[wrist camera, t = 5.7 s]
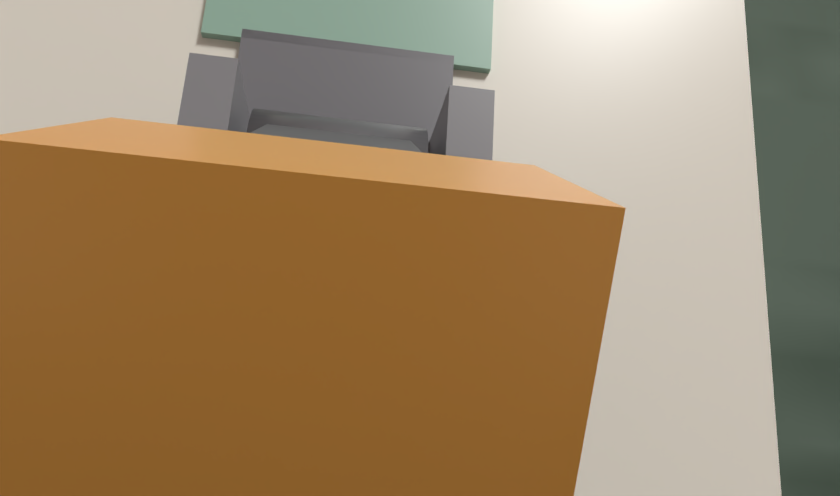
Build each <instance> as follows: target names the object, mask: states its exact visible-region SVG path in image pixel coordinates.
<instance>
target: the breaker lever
mask: <svg viewBox="0 0 840 496" xmlns="http://www.w3.org/2000/svg"><path fill="white" fill-rule="evenodd" d="M625 209H626V208H625V207H623V206H621V205H618V204H616V203H614V202H612V201H610V200H608V199H606V198H603V197H601V196H599V195H597V194H595V193H593V192H591V191H588V190H586V189H584V188H582V187H580V186H578V185H576V184H574V183H571V182H569V181H567V180H565V179H563V178H561V177H559V176H556V175H554V174H552V173H550V172H548V171H546V170H544V169H541V168H539V167H537V166H535V165H528V164H520V163H511V162H502V161H493V160H484V159H475V158H467V157H458V156H449V155H440V154H431V153H428V132H427V129H426V128H418V127H409V126H400V125H392V124H383V123H375V122H366V121H358V120H349V119H341V118H332V117H323V116H315V115H306V114H298V113H289V112H281V111H272V110H264V109H255V108H254V109H253V110H252V112H251V115H250V118H249V122H248V127H247V132H237V131H228V130H219V129H211V128H202V127H193V126H184V125H175V124H166V123H158V122H149V121H140V120H131V119H122V118H113V117H110V118H103V119H97V120H90V121H84V122H78V123H71V124H65V125H58V126H52V127H45V128H39V129H32V130H26V131H19V132H13V133H7V134H0V496H574V492H575V486H576V481H577V475H578V469H579V464H580V458H581V453H582V447H583V442H584V436H585V431H586V425H587V420H588V414H589V408H590V403H591V397H592V392H593V386H594V381H595V375H596V370H597V364H598V359H599V353H600V348H601V342H602V336H603V331H604V325H605V320H606V314H607V309H608V303H609V298H610V292H611V287H612V281H613V276H614V270H615V264H616V259H617V253H618V248H619V242H620V237H621V231H622V226H623V220H624V215H625Z"/></svg>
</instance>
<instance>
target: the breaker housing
mask: <svg viewBox="0 0 840 496" xmlns="http://www.w3.org/2000/svg"><path fill="white" fill-rule="evenodd" d="M254 108H255V109H264V110H272V111H281V112H289V113H298V114H306V115H315V116H323V117H332V118H341V119H349V120H358V121H366V122H375V123H383V124H392V125H400V126H409V127H418V128H426V129H427V132H428V153H431V154H440V155H449V156H458V157H467V158H475V159H484V160H493V161H502V162H511V163H520V164H528V165H535V166H537V167H539V168H541V169H544V170H546V171H548V172H550V173H552V174H554V175H556V176H559V177H561V178H563V179H565V180H567V181H569V182H571V183H574V184H576V185H578V186H580V187H582V188H584V189H586V190H588V191H591V192H593V193H595V194H597V195H599V196H601V197H603V198H606V199H608V200H610V201H612V202H614V203H616V204H618V205H621V206H623V207H625V208H626V209H625V215H624V220H623V226H622V231H621V237H620V242H619V248H618V253H617V259H616V264H615V270H614V276H613V281H612V287H611V292H610V298H609V303H608V309H607V314H606V320H605V325H604V331H603V336H602V342H601V348H600V353H599V359H598V364H597V370H596V375H595V381H594V386H593V392H592V397H591V403H590V408H589V414H588V420H587V425H586V431H585V436H584V442H583V447H582V453H581V458H580V464H579V469H578V475H577V481H576V486H575V492H574V496H781V484H780V470H779V457H778V444H777V431H776V417H775V404H774V391H773V378H772V364H771V351H770V338H769V325H768V312H767V298H766V285H765V272H764V259H763V245H762V232H761V219H760V206H759V192H758V179H757V166H756V153H755V139H754V126H753V113H752V100H751V87H750V73H749V60H748V47H747V34H746V20H745V7H744V0H0V134H7V133H13V132H19V131H26V130H32V129H39V128H45V127H52V126H58V125H65V124H71V123H78V122H84V121H90V120H97V119H103V118H110V117H113V118H122V119H131V120H140V121H149V122H158V123H166V124H175V125H184V126H193V127H202V128H211V129H219V130H228V131H237V132H247V127H248V122H249V118H250V115H251V112H252V110H253V109H254Z"/></svg>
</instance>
